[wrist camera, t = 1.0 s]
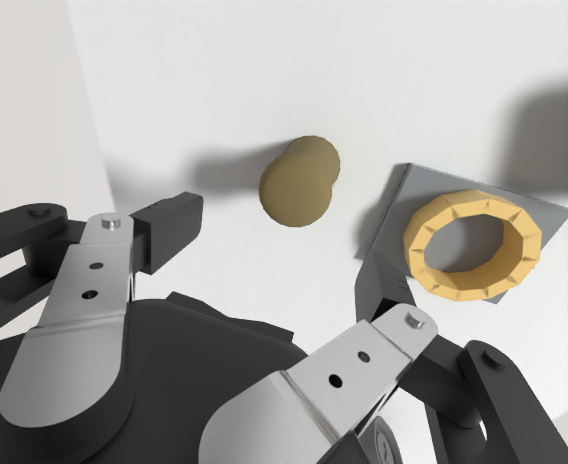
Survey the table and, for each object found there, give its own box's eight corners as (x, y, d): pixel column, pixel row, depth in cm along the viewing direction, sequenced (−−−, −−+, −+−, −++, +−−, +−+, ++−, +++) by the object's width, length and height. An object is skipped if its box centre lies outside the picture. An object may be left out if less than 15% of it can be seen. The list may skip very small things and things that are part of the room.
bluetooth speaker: (369, 391, 39) (376, 475, 30) (398, 430, 41) (413, 518, 32) (255, 419, 48) (234, 489, 39) (284, 449, 50) (271, 522, 41)
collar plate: (410, 162, 25) (421, 171, 21) (563, 206, 24) (604, 224, 20) (366, 257, 30) (369, 278, 26) (490, 297, 29) (512, 325, 25)
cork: (334, 198, 28) (329, 246, 18) (279, 190, 29) (245, 232, 19) (345, 139, 25) (346, 157, 15) (284, 132, 26) (247, 144, 16)
